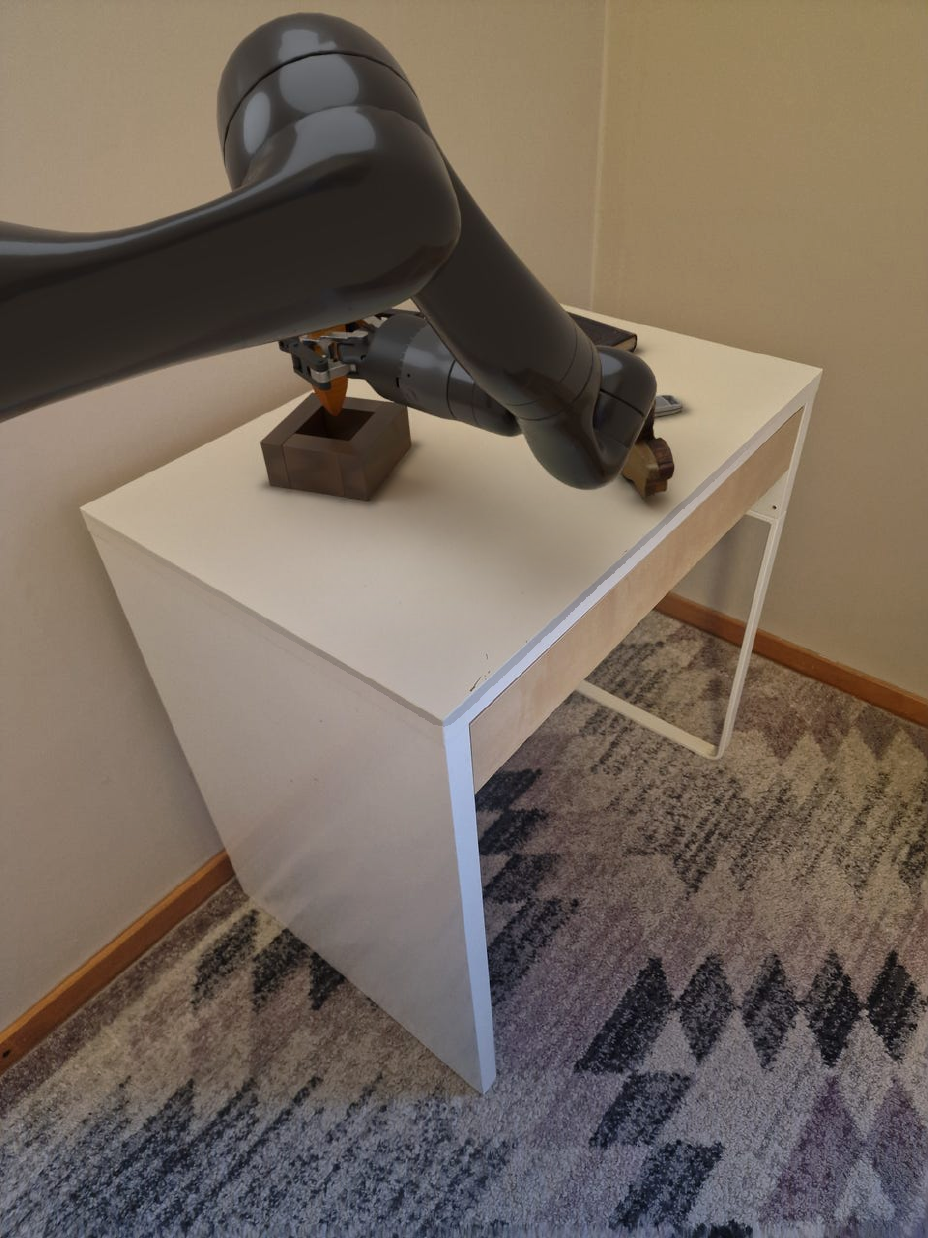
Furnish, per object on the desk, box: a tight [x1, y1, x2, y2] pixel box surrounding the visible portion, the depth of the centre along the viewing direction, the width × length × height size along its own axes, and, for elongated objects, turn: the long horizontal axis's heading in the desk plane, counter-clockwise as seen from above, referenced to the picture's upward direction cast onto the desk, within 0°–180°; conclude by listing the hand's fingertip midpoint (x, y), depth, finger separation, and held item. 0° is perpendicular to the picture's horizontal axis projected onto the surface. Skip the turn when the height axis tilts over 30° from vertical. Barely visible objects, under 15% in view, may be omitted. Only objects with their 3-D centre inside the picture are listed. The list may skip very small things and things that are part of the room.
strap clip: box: [654, 394, 683, 418], centre depth 94 cm, size 8×3×4 cm, turn 107°
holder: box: [259, 391, 412, 502], centre depth 88 cm, size 11×11×5 cm
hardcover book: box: [565, 310, 638, 353], centre depth 110 cm, size 16×23×2 cm
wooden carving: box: [620, 400, 676, 498], centre depth 83 cm, size 16×5×10 cm, turn 16°
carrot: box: [311, 325, 349, 416], centre depth 81 cm, size 5×5×15 cm
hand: (302, 327), depth 82 cm, fingers closed on carrot, 4 cm apart
